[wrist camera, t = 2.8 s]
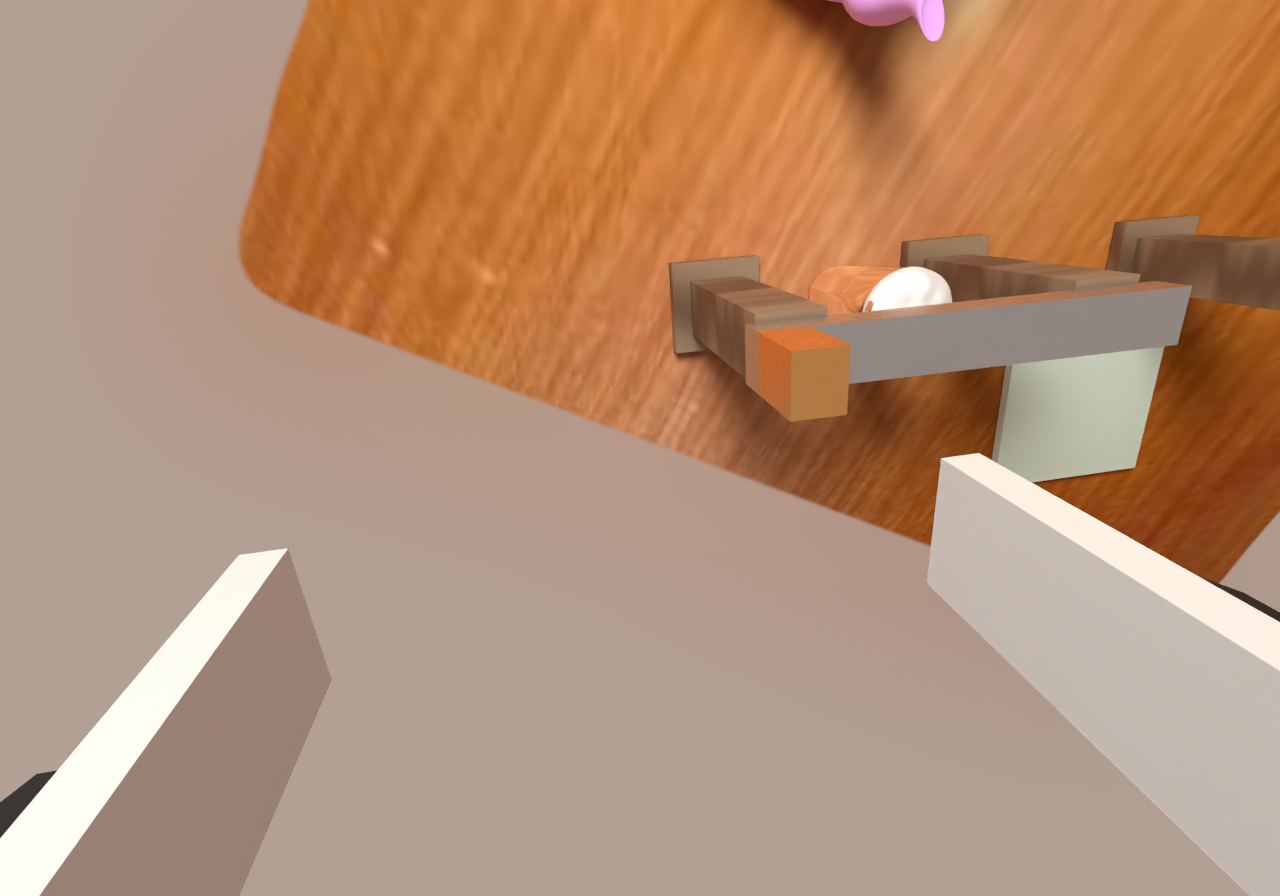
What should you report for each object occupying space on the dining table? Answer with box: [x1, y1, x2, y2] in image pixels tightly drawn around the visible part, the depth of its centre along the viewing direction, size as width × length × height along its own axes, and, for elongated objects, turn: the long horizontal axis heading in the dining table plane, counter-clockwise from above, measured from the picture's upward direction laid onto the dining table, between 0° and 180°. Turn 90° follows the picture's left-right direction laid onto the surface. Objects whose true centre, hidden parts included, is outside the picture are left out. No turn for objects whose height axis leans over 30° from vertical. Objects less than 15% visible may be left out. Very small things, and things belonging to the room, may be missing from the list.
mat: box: [992, 346, 1165, 482], centre depth 42 cm, size 11×11×1 cm
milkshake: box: [809, 266, 952, 316], centre depth 33 cm, size 5×5×10 cm
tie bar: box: [745, 281, 1192, 422], centre depth 24 cm, size 2×18×5 cm, turn 95°
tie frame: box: [669, 215, 1280, 379], centre depth 32 cm, size 5×33×12 cm, turn 94°
